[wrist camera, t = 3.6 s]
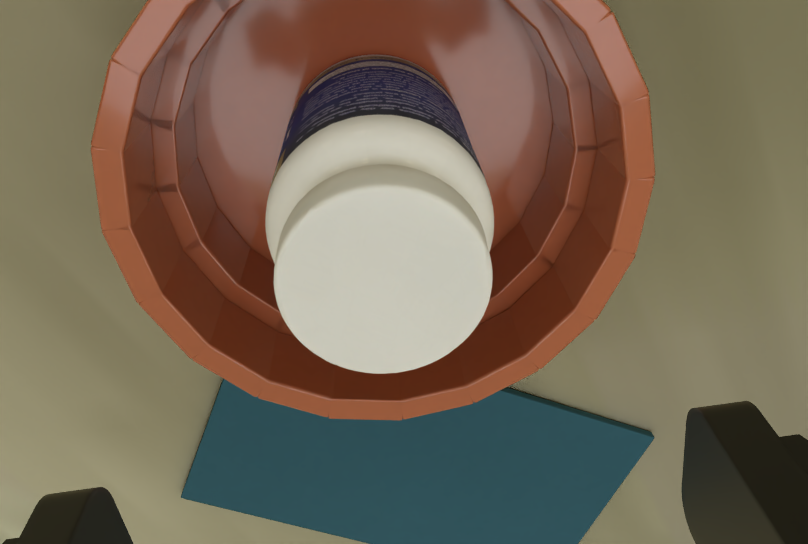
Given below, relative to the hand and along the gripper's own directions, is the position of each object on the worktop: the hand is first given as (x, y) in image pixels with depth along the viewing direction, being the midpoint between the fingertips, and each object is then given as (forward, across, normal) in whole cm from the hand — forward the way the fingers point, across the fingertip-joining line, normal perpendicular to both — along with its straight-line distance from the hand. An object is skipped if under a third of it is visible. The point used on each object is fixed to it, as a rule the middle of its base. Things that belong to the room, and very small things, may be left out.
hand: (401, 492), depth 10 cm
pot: (+16, 0, 0) cm, 16 cm away
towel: (+16, +1, +15) cm, 22 cm away
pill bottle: (+16, 0, 0) cm, 16 cm away
